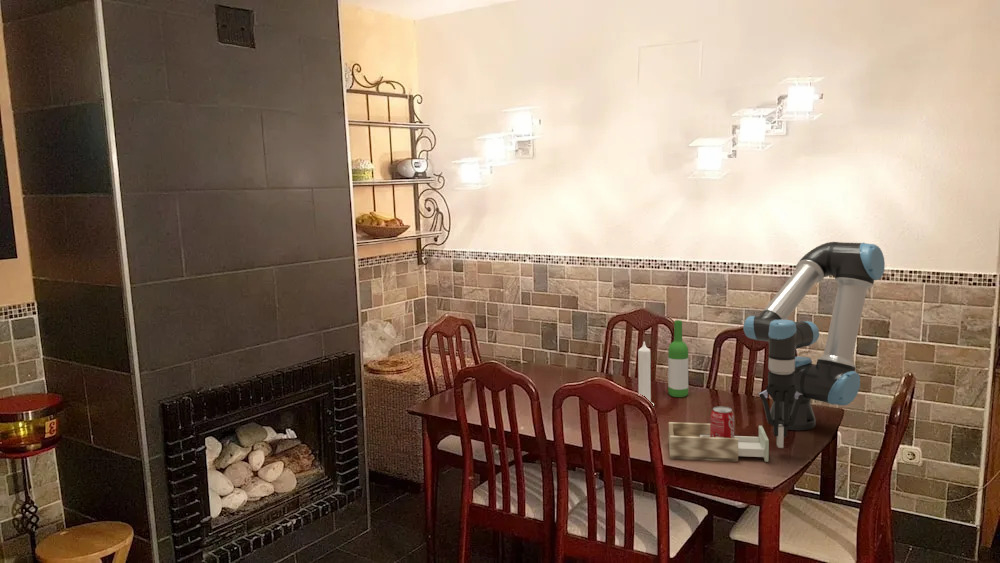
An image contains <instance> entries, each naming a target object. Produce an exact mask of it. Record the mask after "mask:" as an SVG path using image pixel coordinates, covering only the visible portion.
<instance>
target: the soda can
mask: <svg viewBox="0 0 1000 563" xmlns="http://www.w3.org/2000/svg"><path fill="white" fill-rule="evenodd" d="M709 424H710V437H719V438H734V436H735V414H734V412H733V408H731V407H729V406H722V405H721V406H714V407H713V408H712V411H711V413H710V423H709Z"/></svg>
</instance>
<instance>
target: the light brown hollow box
mask: <svg viewBox="0 0 1000 563" xmlns="http://www.w3.org/2000/svg"><path fill="white" fill-rule="evenodd" d="M700 435H710V423H708V422H707V423H705V422H704V423H703V422H702V423H701V422H677V421H675V422H674V421H669V422H668V446H669V447H668V450H669V451H668V452H669V459H670V460H686V461H687V460H690V461H707V462H708V461H709V462H731V463H733V462H734V463H738V462H739V456H738V438H719V437H700Z"/></svg>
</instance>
